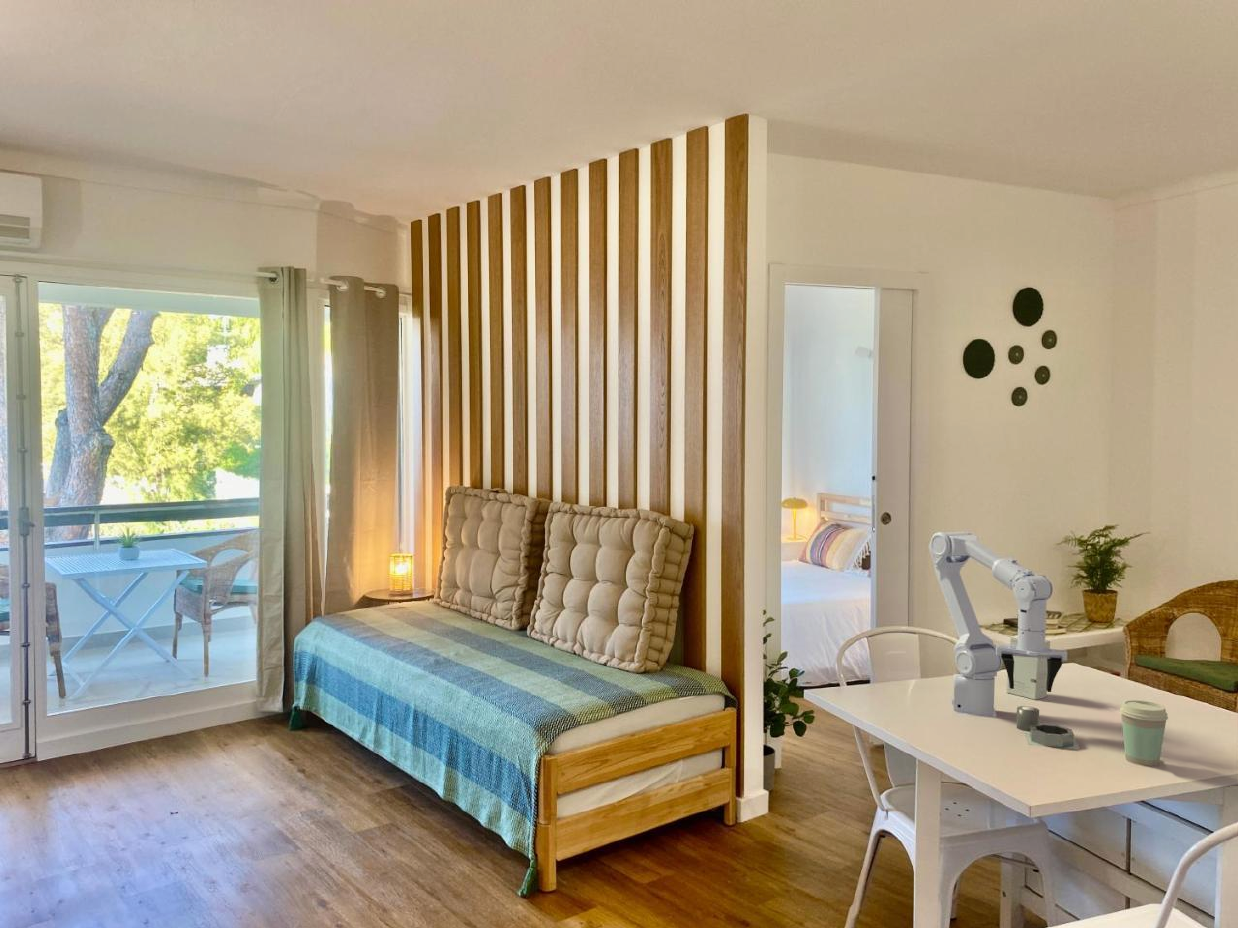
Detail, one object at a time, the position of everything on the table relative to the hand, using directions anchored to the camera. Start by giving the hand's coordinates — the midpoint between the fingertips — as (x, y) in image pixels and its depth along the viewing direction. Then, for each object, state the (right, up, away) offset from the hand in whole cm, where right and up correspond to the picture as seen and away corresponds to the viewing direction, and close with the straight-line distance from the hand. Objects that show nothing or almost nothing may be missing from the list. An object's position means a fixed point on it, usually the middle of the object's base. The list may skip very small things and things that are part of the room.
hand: (1030, 689), depth 209 cm
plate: (+1, -10, -9) cm, 13 cm away
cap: (0, -10, 0) cm, 10 cm away
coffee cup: (+14, -10, -20) cm, 27 cm away
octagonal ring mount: (+1, -9, -9) cm, 13 cm away
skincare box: (+13, -9, +30) cm, 34 cm away
